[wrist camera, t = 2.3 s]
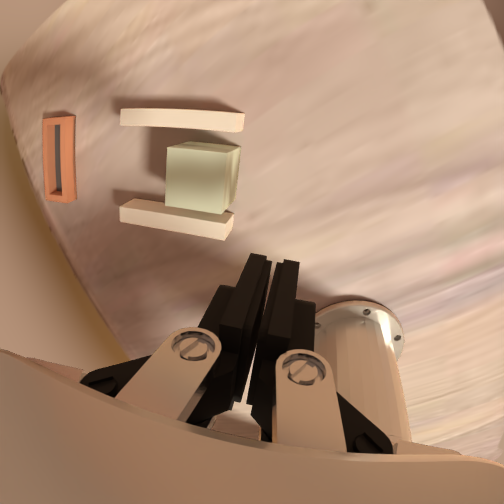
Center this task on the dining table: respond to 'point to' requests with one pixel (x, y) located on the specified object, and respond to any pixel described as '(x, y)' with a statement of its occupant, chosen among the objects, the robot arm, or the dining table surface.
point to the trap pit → (59, 158)
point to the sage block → (202, 176)
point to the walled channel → (156, 211)
